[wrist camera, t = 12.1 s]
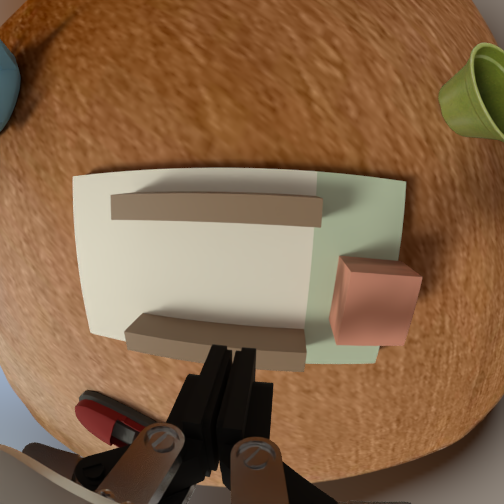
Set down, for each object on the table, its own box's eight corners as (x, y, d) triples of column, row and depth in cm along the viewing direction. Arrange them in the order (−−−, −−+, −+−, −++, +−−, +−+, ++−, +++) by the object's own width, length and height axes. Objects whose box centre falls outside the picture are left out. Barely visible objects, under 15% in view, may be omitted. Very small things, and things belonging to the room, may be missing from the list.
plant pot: (496, 112, 19) (544, 101, 10) (472, 171, 21) (527, 172, 13) (441, 54, 18) (482, 25, 10) (411, 110, 21) (458, 86, 13)
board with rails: (84, 176, 26) (47, 177, 20) (397, 181, 23) (427, 182, 17) (99, 325, 30) (71, 349, 24) (370, 352, 27) (385, 387, 21)
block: (339, 255, 23) (350, 271, 19) (401, 261, 23) (422, 277, 18) (328, 319, 25) (336, 345, 20) (387, 321, 24) (403, 345, 20)
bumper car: (82, 378, 34) (47, 416, 24) (200, 436, 34) (183, 489, 24) (84, 412, 36) (57, 447, 27) (187, 462, 36) (171, 507, 26)
